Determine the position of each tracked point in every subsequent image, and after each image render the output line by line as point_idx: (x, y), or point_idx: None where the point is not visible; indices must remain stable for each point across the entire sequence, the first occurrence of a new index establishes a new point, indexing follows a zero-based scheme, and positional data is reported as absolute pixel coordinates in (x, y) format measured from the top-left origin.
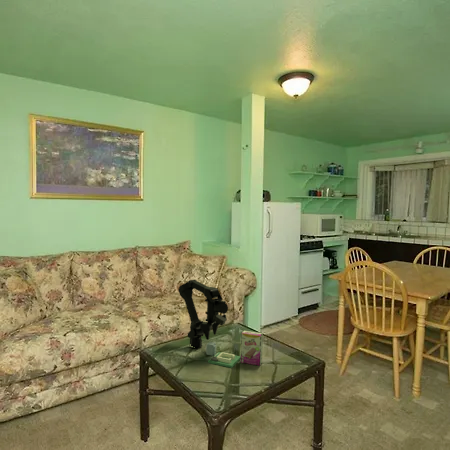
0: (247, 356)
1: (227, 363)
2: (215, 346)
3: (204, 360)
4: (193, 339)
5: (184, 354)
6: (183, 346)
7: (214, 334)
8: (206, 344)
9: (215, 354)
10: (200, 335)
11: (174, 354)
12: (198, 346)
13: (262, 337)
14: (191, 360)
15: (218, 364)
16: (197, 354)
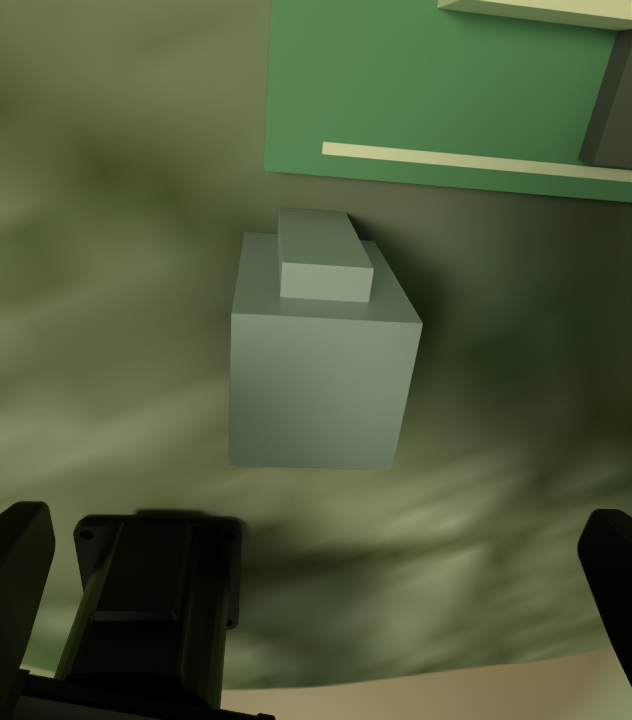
0: None
1: None
2: (325, 260)
3: (591, 291)
4: (219, 698)
5: (447, 571)
6: (226, 662)
7: (52, 528)
8: (388, 462)
9: (406, 182)
10: (71, 708)
11: (474, 638)
12: (198, 546)
13: None
14: (612, 443)
15: None
16: (400, 456)
